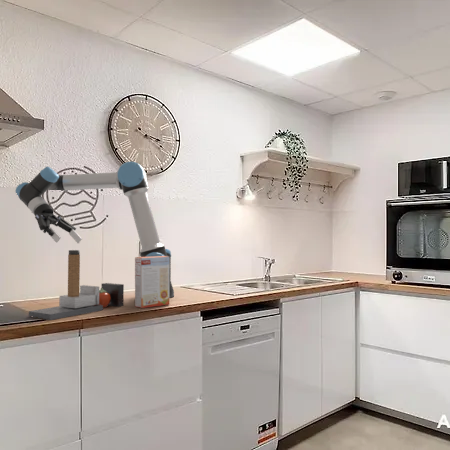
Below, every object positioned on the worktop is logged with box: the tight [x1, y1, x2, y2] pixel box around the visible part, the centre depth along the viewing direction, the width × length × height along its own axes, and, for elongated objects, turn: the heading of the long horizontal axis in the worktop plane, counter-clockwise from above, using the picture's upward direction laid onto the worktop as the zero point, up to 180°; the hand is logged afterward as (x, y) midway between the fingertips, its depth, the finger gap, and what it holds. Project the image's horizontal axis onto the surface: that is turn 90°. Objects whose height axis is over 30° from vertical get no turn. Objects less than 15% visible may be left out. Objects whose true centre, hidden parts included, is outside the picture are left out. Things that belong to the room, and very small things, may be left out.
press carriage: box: [58, 249, 100, 308], centre depth 171 cm, size 12×9×22 cm
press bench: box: [28, 282, 125, 321], centre depth 172 cm, size 37×12×9 cm, turn 149°
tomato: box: [98, 288, 111, 309], centre depth 181 cm, size 7×7×8 cm
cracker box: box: [134, 256, 170, 309], centre depth 185 cm, size 14×6×21 cm, turn 131°
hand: (69, 240), depth 187 cm, fingers open, 13 cm apart
